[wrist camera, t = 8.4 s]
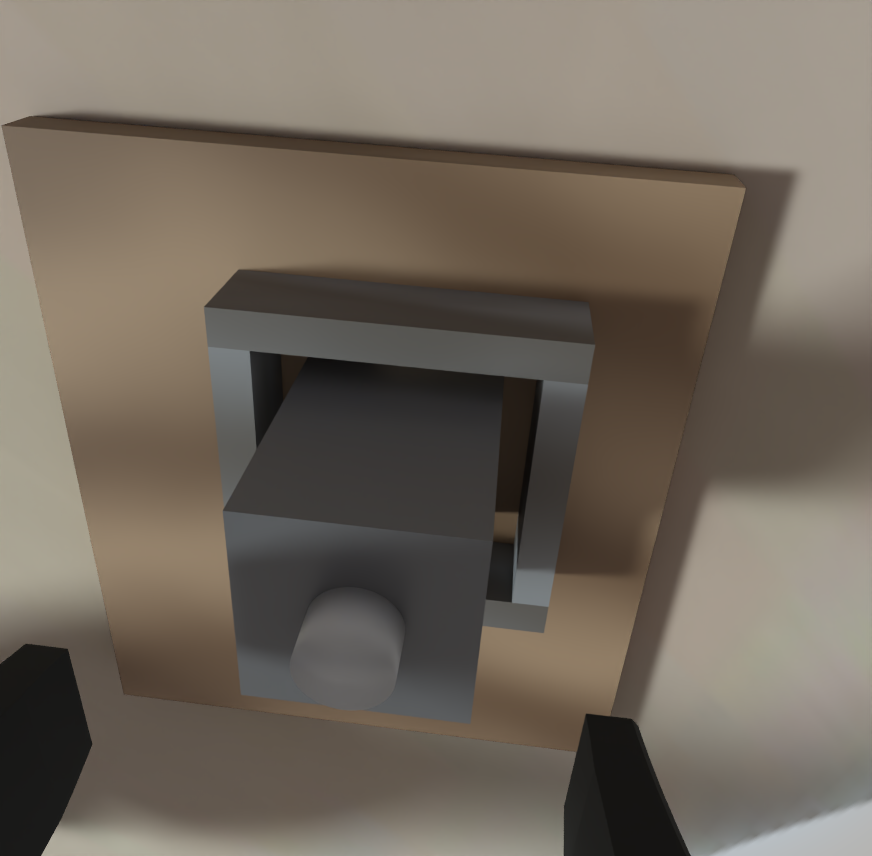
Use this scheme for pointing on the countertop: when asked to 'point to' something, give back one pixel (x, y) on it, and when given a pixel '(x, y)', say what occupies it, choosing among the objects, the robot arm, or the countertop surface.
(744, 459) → the countertop surface
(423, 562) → the plug
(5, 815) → the robot arm
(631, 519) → the charging dock
